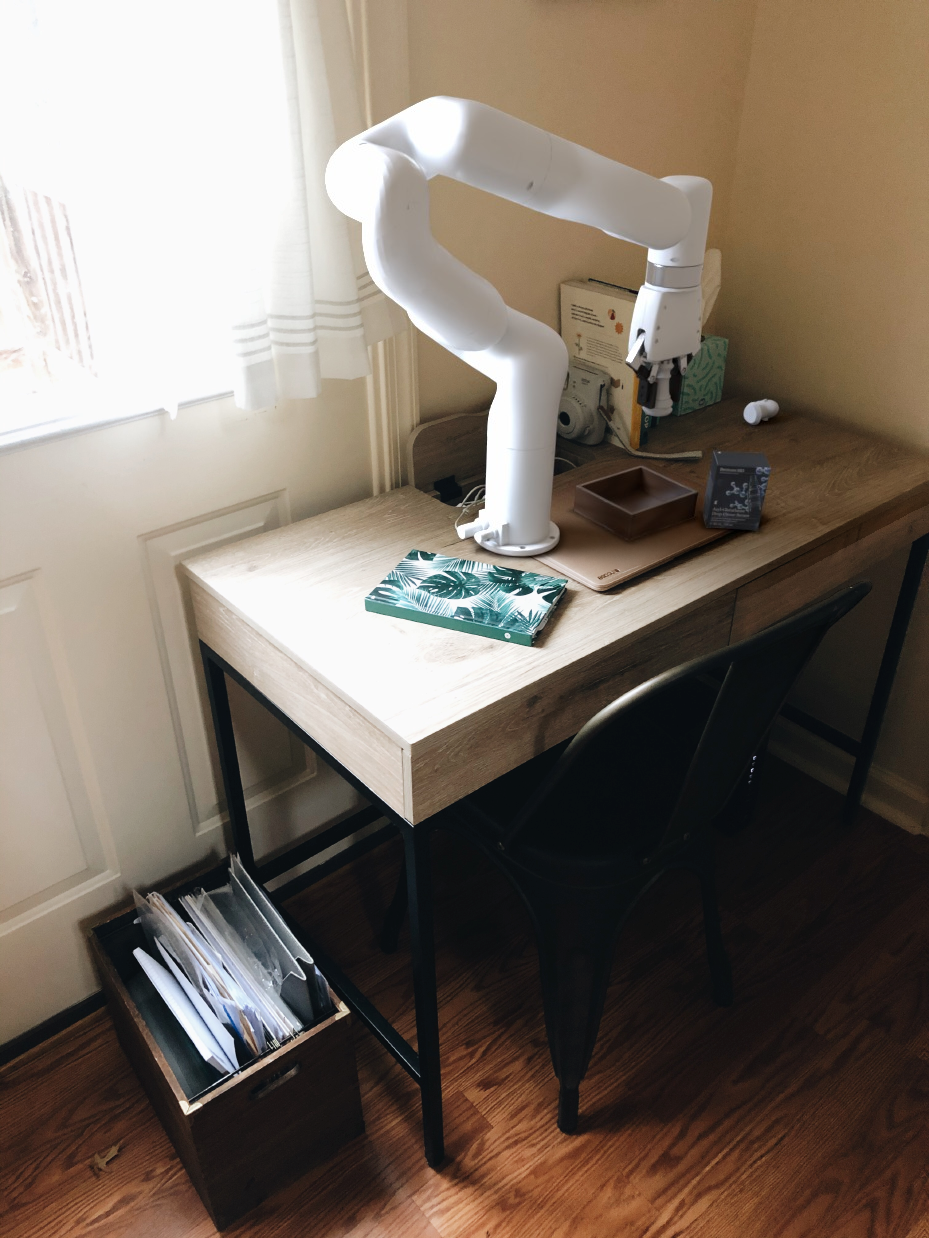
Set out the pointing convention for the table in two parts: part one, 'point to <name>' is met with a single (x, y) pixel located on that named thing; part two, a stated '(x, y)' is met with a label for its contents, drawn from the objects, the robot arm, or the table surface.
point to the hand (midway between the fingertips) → (658, 401)
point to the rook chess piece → (662, 390)
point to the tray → (635, 502)
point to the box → (736, 490)
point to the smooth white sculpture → (760, 411)
